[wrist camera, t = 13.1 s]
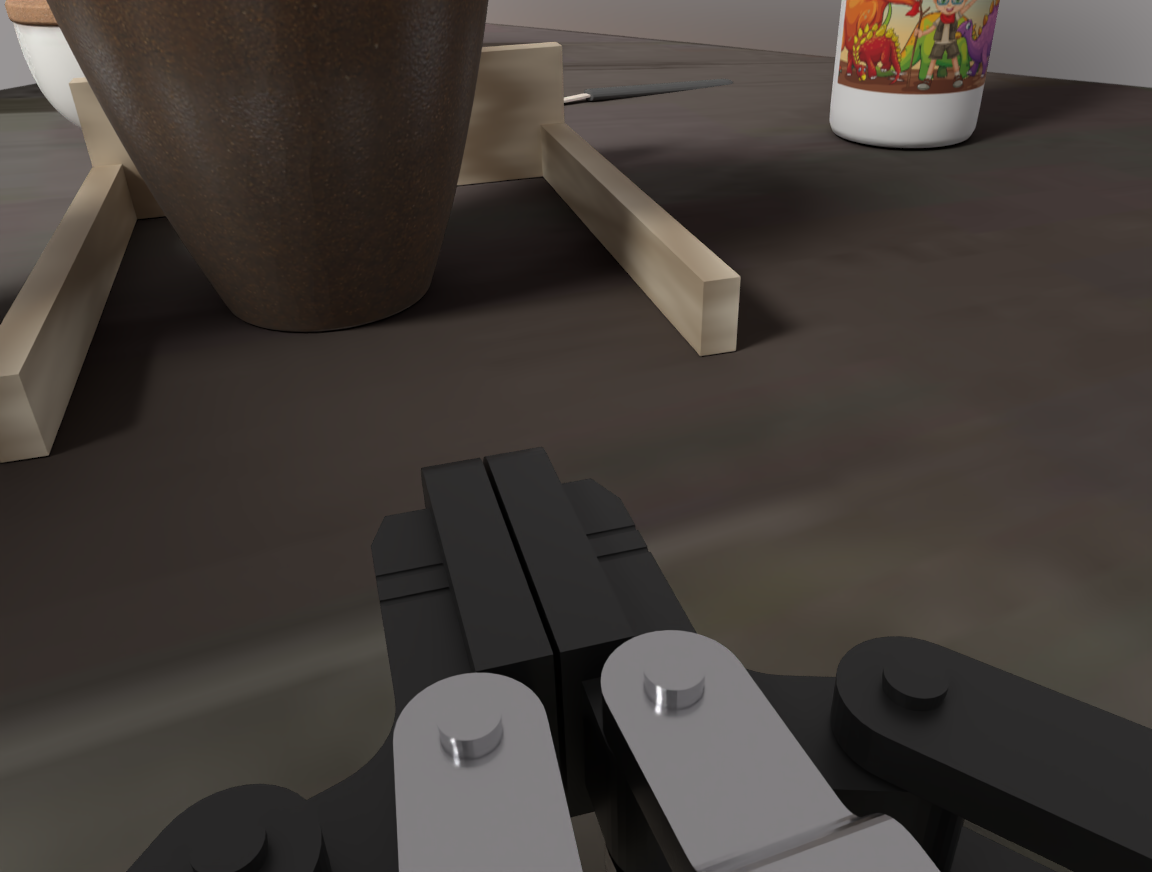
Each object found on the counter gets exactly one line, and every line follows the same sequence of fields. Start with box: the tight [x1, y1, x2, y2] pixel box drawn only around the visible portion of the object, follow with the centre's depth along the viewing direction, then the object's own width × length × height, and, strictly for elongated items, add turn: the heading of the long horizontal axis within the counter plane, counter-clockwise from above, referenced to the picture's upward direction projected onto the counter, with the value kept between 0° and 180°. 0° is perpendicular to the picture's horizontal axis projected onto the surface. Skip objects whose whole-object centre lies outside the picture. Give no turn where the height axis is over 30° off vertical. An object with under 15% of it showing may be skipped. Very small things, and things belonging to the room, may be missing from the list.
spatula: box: [564, 79, 733, 103], centre depth 60 cm, size 6×29×2 cm, turn 116°
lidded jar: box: [5, 0, 85, 129], centre depth 56 cm, size 11×11×9 cm
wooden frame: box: [0, 42, 741, 463], centre depth 36 cm, size 21×22×6 cm
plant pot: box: [46, 0, 488, 332], centre depth 31 cm, size 15×15×16 cm
